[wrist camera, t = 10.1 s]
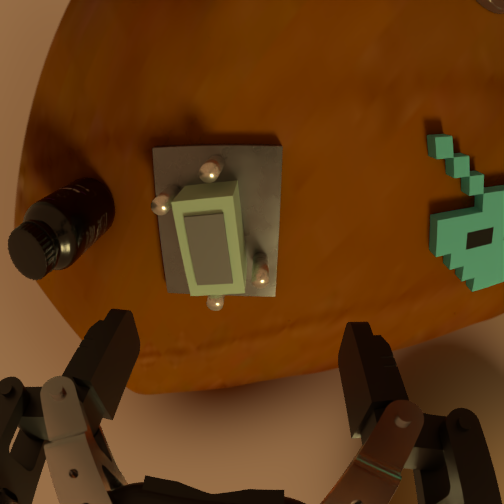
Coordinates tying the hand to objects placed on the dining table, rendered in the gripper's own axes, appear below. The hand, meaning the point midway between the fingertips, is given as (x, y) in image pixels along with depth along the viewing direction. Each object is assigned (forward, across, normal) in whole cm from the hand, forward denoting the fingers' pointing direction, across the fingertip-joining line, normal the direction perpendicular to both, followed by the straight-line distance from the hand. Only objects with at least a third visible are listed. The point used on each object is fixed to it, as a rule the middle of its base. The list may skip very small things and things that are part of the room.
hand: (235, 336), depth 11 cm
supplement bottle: (+21, +18, +3) cm, 28 cm away
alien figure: (+22, -29, +1) cm, 37 cm away
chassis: (+21, +4, +4) cm, 22 cm away
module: (+20, +4, +4) cm, 20 cm away
